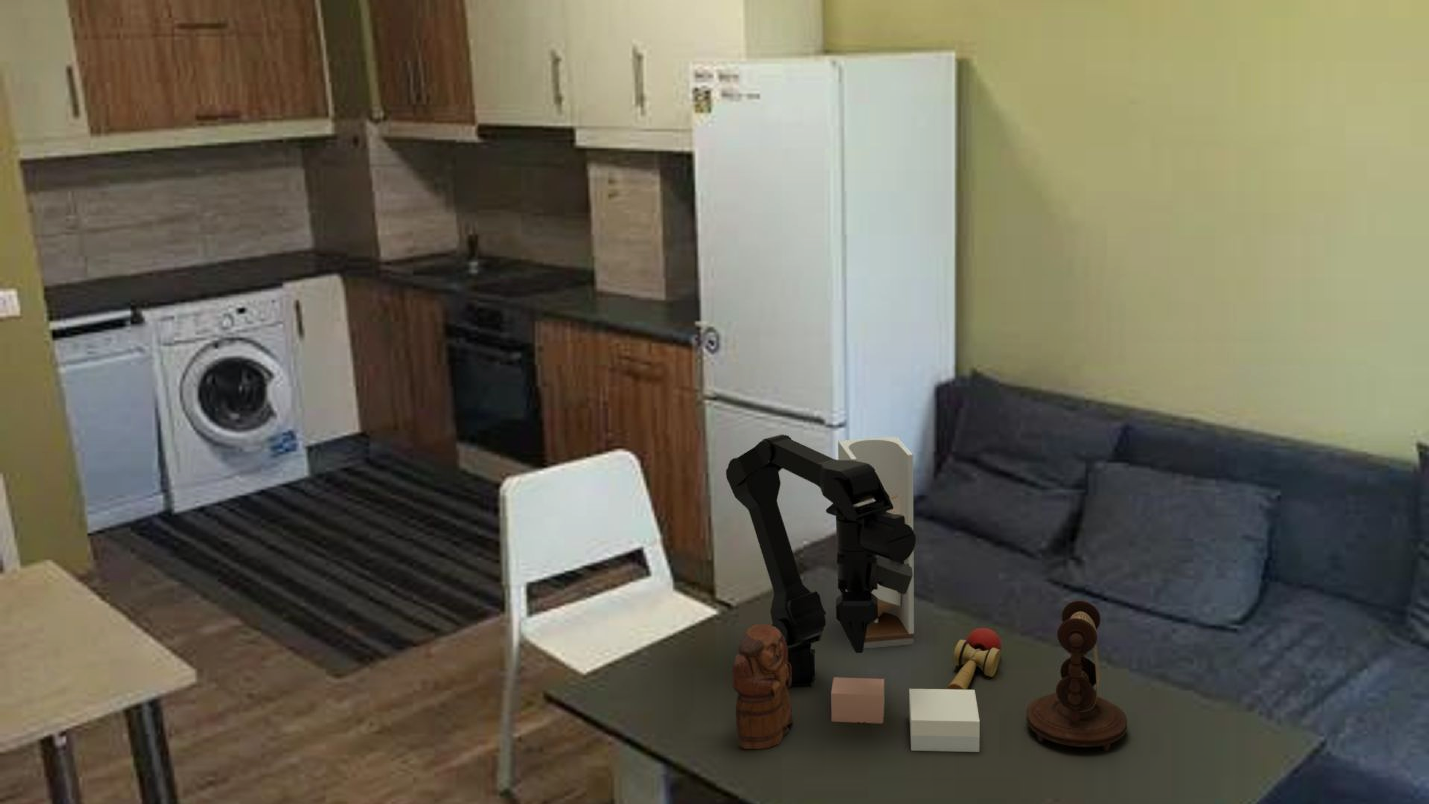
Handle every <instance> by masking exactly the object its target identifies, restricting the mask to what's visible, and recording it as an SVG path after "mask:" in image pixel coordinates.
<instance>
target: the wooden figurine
mask: <svg viewBox="0 0 1429 804" xmlns="http://www.w3.org/2000/svg"><path fill="white" fill-rule="evenodd" d="M771 625H772V624H766V623H760V624H759V623H758V624H755V625H752V626H751V627H749V628H748V629H747V630H746V631H745V632H744V634H742V637H741V639H740V640H739V641H740V642H739V645H738V653H737V655H736V656H735V659H734V661H733V664H732V688H733V689H734V691H735V692H736V693H737V694H738V695H737V697H736V703H735V723H736V724H735V725H736V732H737V736H738V742H739V745H740V747H741V748H742V749H745V750H762V749H768V748H772V747H774V746H777V745H779V744H781V743H782V741H783V738H784V737H785V736H786V735H787V734H788V733H789V731H790V728H789V725H790V724H792V723H793V710H792V705H791V698H790V694H789V689H790V687H792V686H791V681H792V672H791V664H790V663H789V662H788V649H787V644H786V640H785V637H784V636H783V635H782V633H781V632H780V631H779V630H778V629H777V628H776V627H774V626H771Z"/></svg>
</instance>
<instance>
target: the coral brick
mask: <svg viewBox="0 0 1429 804" xmlns="http://www.w3.org/2000/svg"><path fill="white" fill-rule="evenodd" d="M830 699H831V700H830V704H831V707H830V710H831V712H830V713H831V722H836V723H837V722H838V723H839V722H840V723H857V722H860V723H863V722H866V723H865V724H882V723H883V724H884V718H885V678H868V677H867V678H865V677H864V678H863V677H861V678H860V677H839V676H838V677H836V676H834V677H833V679H832V686H831V692H830ZM883 717H884V718H883ZM863 724H864V723H863Z"/></svg>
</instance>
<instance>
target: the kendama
mask: <svg viewBox="0 0 1429 804" xmlns="http://www.w3.org/2000/svg"><path fill="white" fill-rule="evenodd" d="M1001 650H1002V641H1001V639H1000V637H999V635H998V634H997V633H996V632H995V631H993V630H992V629H990V628H987V627H979V628H975V629H974V630H973V631H971V632H970V633H969V634H968V636H967V637H966V638H965V639H959V640H958V642H957V643H956V646H955V648H954V651H953V655H952V656H953V657H952V663H953V665H955V666H958V667H960V666H962V667H961V668H960V669H959V671H958V673H957V674H956V675H955V677H954V678H953V679H952V681H951V682H950V683H949V684H948V686H947V688H946V689H955V690H968V689H969V686H970V684H971V681H972V679H973V676H974V674H975V671H976V667H979V668H980V669H981V670H982V672H983V673H984V676H986V677H990V678H992V677H994V676H995V674H996V672H997V669H998V668H999V667H998V666H999V665H1000V658H1001Z"/></svg>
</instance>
